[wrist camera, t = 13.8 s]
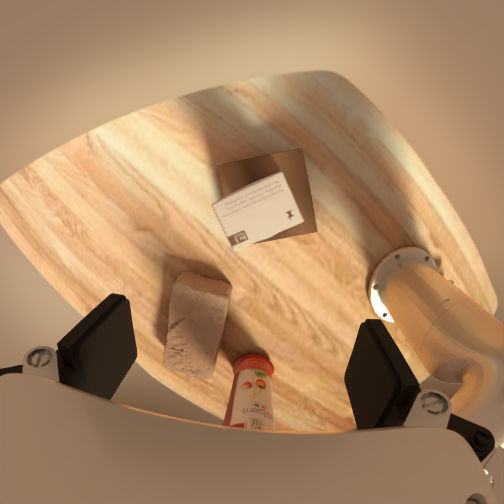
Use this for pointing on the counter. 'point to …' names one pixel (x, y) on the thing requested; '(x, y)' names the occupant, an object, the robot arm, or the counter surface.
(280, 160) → the walnut block
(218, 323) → the brick
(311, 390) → the counter surface
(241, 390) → the liquor
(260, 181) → the skincare box
